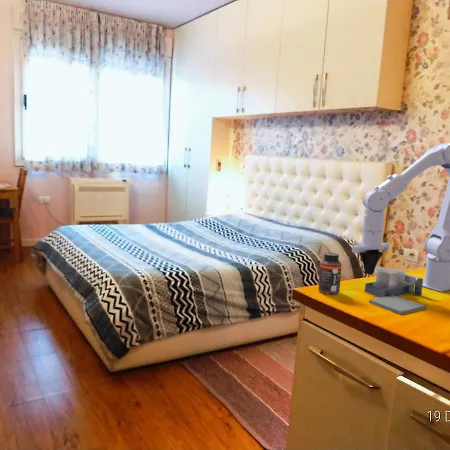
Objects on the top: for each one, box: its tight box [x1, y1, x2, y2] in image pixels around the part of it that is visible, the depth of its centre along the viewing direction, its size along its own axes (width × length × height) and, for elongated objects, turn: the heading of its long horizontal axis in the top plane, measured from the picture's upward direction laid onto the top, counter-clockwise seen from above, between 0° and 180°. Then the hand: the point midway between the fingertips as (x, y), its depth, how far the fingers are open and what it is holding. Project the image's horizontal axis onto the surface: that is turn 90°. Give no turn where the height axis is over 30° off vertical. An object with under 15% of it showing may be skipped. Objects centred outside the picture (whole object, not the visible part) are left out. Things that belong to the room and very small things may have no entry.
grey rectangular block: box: [375, 267, 407, 288], centre depth 129 cm, size 7×4×4 cm, turn 122°
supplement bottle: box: [318, 252, 342, 295], centre depth 127 cm, size 6×6×11 cm
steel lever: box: [373, 265, 424, 296], centre depth 134 cm, size 2×18×5 cm, turn 32°
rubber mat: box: [368, 295, 426, 315], centre depth 118 cm, size 10×10×1 cm
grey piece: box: [364, 281, 415, 298], centre depth 130 cm, size 13×7×2 cm, turn 122°
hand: (368, 273), depth 137 cm, fingers closed
